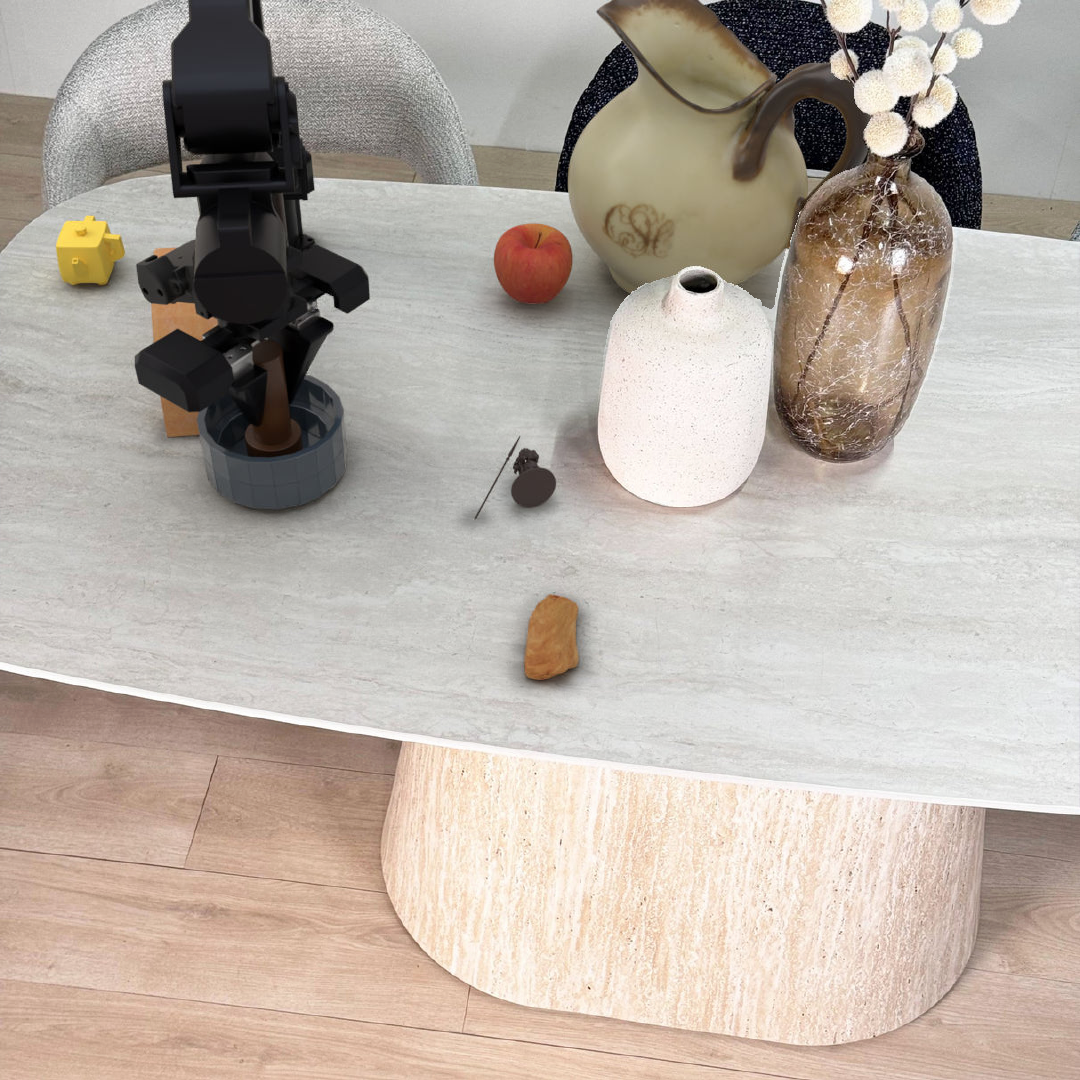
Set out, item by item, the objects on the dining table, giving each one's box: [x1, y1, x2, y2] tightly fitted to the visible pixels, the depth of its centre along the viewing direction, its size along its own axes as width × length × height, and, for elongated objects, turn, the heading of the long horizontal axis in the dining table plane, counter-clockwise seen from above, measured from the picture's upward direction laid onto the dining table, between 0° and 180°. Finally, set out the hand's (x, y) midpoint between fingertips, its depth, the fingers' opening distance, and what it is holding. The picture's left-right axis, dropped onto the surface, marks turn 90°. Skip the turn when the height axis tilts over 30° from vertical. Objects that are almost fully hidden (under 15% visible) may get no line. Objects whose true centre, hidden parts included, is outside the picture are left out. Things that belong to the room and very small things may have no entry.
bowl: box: [197, 374, 349, 510], centre depth 101 cm, size 11×11×6 cm
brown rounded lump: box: [523, 593, 580, 681], centre depth 90 cm, size 8×2×5 cm
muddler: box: [245, 338, 303, 457], centre depth 98 cm, size 4×4×11 cm
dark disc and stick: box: [474, 435, 557, 520], centre depth 101 cm, size 5×8×4 cm
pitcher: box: [567, 0, 871, 295], centre depth 117 cm, size 22×24×25 cm
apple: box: [493, 222, 574, 305], centre depth 118 cm, size 7×7×8 cm
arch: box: [150, 246, 218, 438], centre depth 109 cm, size 6×20×10 cm, turn 9°
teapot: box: [55, 215, 126, 286], centre depth 119 cm, size 8×6×5 cm
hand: (270, 413), depth 99 cm, fingers closed on muddler, 3 cm apart
